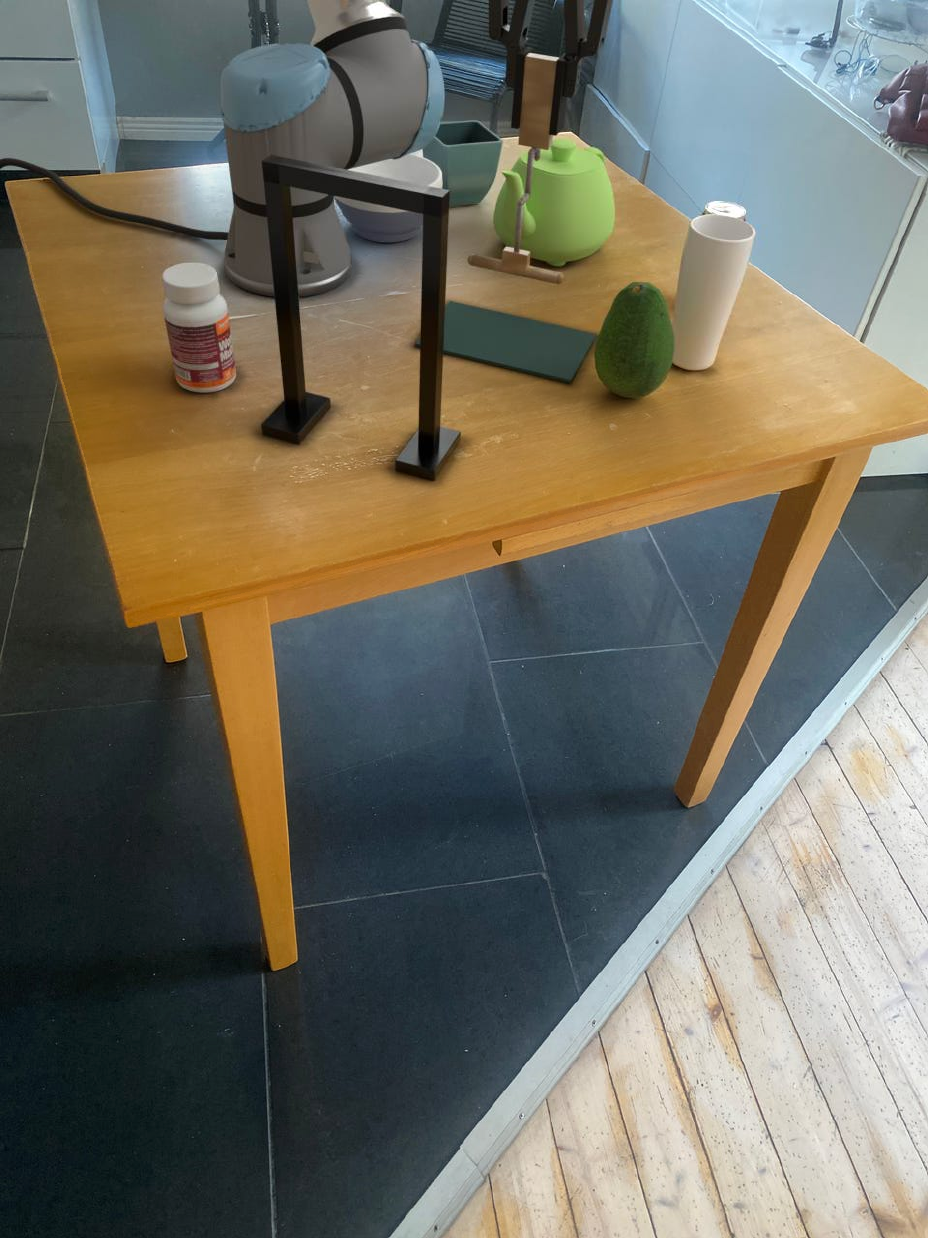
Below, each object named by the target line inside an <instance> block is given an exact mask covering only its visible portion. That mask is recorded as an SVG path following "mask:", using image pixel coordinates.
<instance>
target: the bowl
mask: <svg viewBox="0 0 928 1238" xmlns="http://www.w3.org/2000/svg"><path fill="white" fill-rule="evenodd" d="M348 170H351V171H356V172H361V173H366V174H371V175H376V176H381V177H386V178H391V179H396V180H401V181H406V182H411V183H416V184H421V185H426V186H431V187H436V188H441V189H442V184H443V183H442V171H441V170H440V168H439V167H438V166H437V165H436V164H435V163H434V162H432V161H430V160H428V159H426V158H423V156H421V155H417V154H414V153H410V154H407V155H406V156H403V157H402V158H400V159H395V160H394V159H388V160H383V161H380V162H376V163H372V164H368V165H364V166H360V167H356V168H352V169H348ZM334 202H335V203H336V205H337V206H338V207H339V209H340V210H341V213H342V216H343V217H344V218H345V219H346V221H347V222H348V223H349V224H350V225H351V227H352V229H353V231H354V232H355V234H356V235H358V236H359V237H362V238H363V239H366V240H368V241H371V242H378V243H383V244H385V243H387V244H388V243H399V242H404V241H407V240H409V239H412V238H414V237H416V236H417V234H418V233H419V232H420V230H421V228H422V227H423V214H420V213H415V212H410V211H405V210H401V209H396V208H391V207H386V206H381V205H376V204H372V203H367V202H362V201H357V200H352V199H347V198H343V197H338V196H334Z"/></svg>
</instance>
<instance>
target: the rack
mask: <svg viewBox="0 0 928 1238" xmlns="http://www.w3.org/2000/svg"><path fill="white" fill-rule="evenodd" d="M262 171H263V181H264V190H265V201H266V212H267V222H268V233H269V243H270V254H271V264H272V275H273V286H274V296H273V297H274V306H275V315H276V326H277V336H278V349H279V359H280V369H281V378H282V379H281V381H282V391H283V398H284V399H283V400H282V402H281V403H280V404H279V405H278V406H277V407H276V408H275V409H274V410H273V411H272V412H271V413H270V414H269V415H268V416H267V417H266V419H265V420H264V421H262V423H261V424H260V429H261V436H265V437H268V438H269V437H270V438H273V439H276V440H280V441H284V442H287V443H291V444H296V445H301V443H302V442H303V441H304V440H305V438H306V437H307V436H308V435H309V434H310V433H311V432H312V430H313V429H314V428H315V427H316V426H317V425H318V424H319V422H320V421H321V420H322V419H323V418H324V417H325V416H326V415H327V413H329V411H330V410H331V408H332V405H331V397H328V396H324V395H320V394H317V393H312V392H308V391H306V378H305V365H304V351H303V337H302V325H301V311H300V297H299V296H298V283H297V269H296V256H295V243H294V229H293V216H292V203H291V190H290V187H294V188H299V189H304V190H309V191H313V192H318V193H323V194H328V195H333V196H338V197H343V198H347V199H352V200H357V201H362V202H367V203H372V204H376V205H381V206H386V207H391V208H396V209H401V210H405V211H410V212H415V213H420V214H423V225H422V245H421V247H422V252H421V292H420V293H421V294H420V297H421V298H420V335H419V338H420V347H419V381H418V383H419V385H418V386H419V389H418V428H417V430H416V431H415V432H414V434H413V435H412V437H411V438H410V439H409V440H408V442H407V443H406V445H405V446H404V447H403V448H402V451H400V453H399V455H398V456H397V457H396V458H395V460H394V469H395V470H394V471H396V472H399V473H403V474H407V475H410V476H414V477H417V478H418V477H419V478H422V479H425V480H429V481H433V482H435V481H436V479H437V478H438V476H439V475H440V474H441V472H442V470H443V469H444V467H445V466H446V464H447V463H448V461H449V459H450V458H451V456H452V455H453V453H454V452H455V450H456V449H457V447H458V446H459V445H460V443H461V440H462V439H461V436H462V432H461V431H460V430H457V429H452V428H448V427H444V426H441V416H442V415H441V413H442V393H443V369H444V353H443V345H444V321H445V307H446V296H447V294H446V293H447V272H448V271H447V270H448V269H447V268H448V247H449V225H450V224H449V222H450V221H449V220H450V206H449V200H450V190H446V189H441V188H436V187H431V186H426V185H421V184H416V183H411V182H406V181H401V180H396V179H391V178H386V177H381V176H376V175H371V174H366V173H361V172H356V171H351V170H346V169H341V168H336V167H331V166H326V165H320V164H315V163H310V162H305V161H300V160H295V159H290V158H285V157H280V156H275V155H270V156H268V157H267V158H265V159H264V160H262Z"/></svg>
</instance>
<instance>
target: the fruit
mask: <svg viewBox="0 0 928 1238" xmlns="http://www.w3.org/2000/svg"><path fill="white" fill-rule="evenodd" d="M672 323H673V322H672V320H671V316H670V313H669V309H668V304H667V301H666V299H665V296H664V295H663V292H661V289H660V288H658V287H656V286H655V285H653V284H652V283H650V282H648V281H647V282H644V281H633V282H631V283H629V284H628V285H627V286H625V287H624V288H622V289H621V290H620V291H619V292H618V293H617V295H616V296H615V297H614V299H613V301H612V304H611V306H610V308H609V310H608V312H607V314H606V316H605V318H604V320H603V322H602V325H601V328H600V331H599V333H598V334H597V337H596V342H595V346H594V350H593V357H594V367H595V370H596V371H595V372H596V374H597V376H598V378H599V380H600V382H601V383H602V384H603V386H604V387H606V389H608V390H609V391H610V392H611V393H613V394H615V395H617V396H620V397H621V398H626V399H627V398H628V399H634V400H635V399H639V398H644V397H647V396H649V395H650V394H653V392H655V391H656V390H657V389H659V388H660V386H662V384H663V383H664V382H665V380H666V379H667V377H668V374H669V372H670V370H671V368H672V364H673V363H672V362H673V356H674V349H675V345H674V333H673V328H672Z"/></svg>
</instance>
